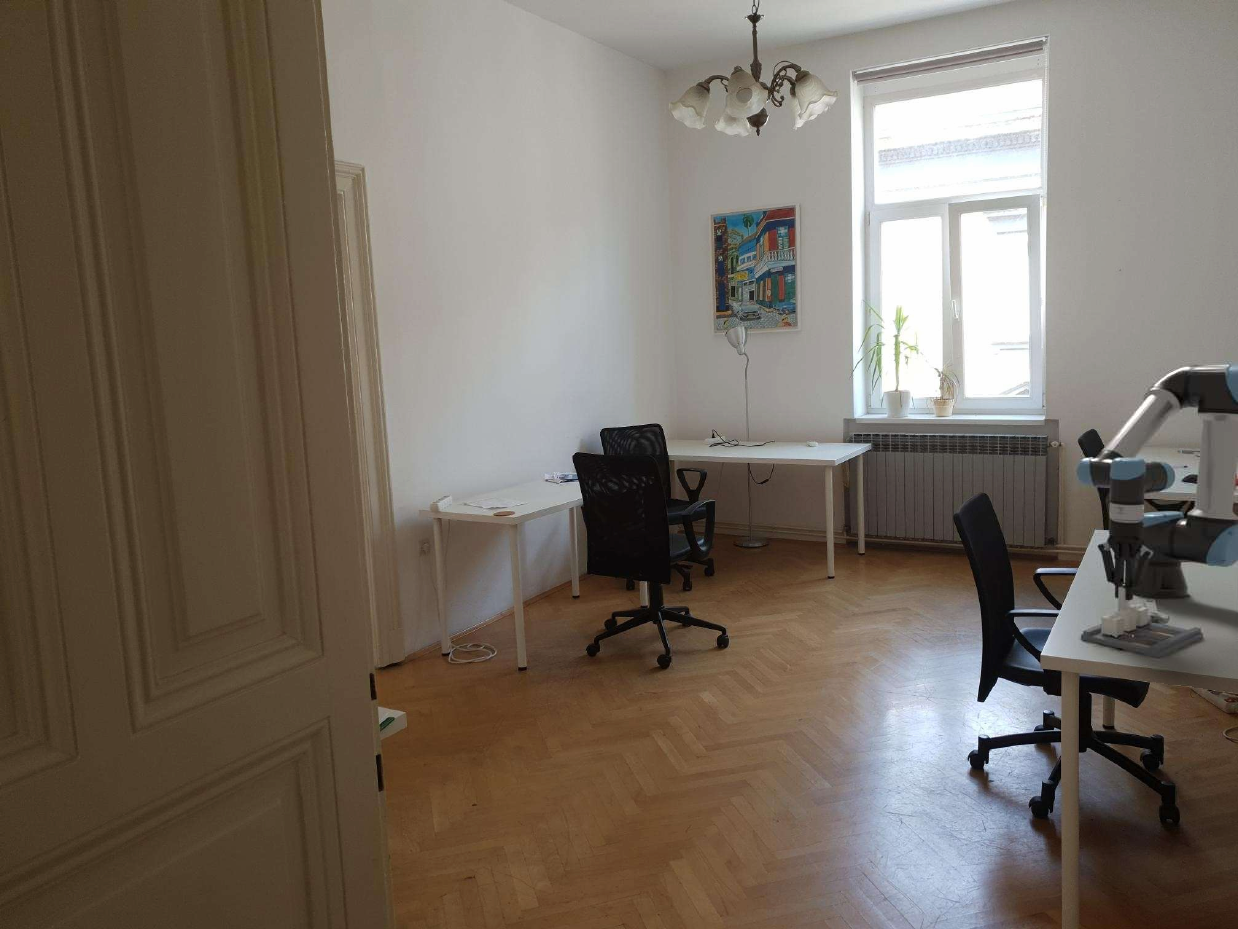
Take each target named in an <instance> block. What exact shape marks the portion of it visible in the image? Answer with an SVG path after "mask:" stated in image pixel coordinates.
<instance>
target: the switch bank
mask: <svg viewBox="0 0 1238 929" xmlns="http://www.w3.org/2000/svg"><path fill="white" fill-rule="evenodd" d="M1139 634H1142V635H1145V636H1144V637H1145V638H1133V636H1132V635H1139ZM1203 638H1204V632H1202V627H1196V626H1194V627H1192V628H1189V629H1186V628H1182V627H1177V626H1172V625H1168V624H1163V623H1159V622H1158V623H1157V622H1152V621H1151V623H1148V624H1146V625H1143V626H1136V629H1134V630H1131V631H1124V634H1121V636H1117V637H1115V636H1110V635H1107V634H1103V633H1101V624H1097V625H1095V626H1092V627H1090V628H1087V629H1085V630H1083V631H1082V634H1080V639H1081V640H1082V641H1088V642H1091V643H1096V644H1099V643H1100V644H1101V645H1104V646H1107V647H1108V646H1109V647H1112V648H1117V649H1120V648H1121V650H1126V651H1130V652H1132V653H1133V652H1134V653H1138V654H1141V655H1145V656H1151V657H1155V658H1159V659H1160V658H1162V657H1164V656H1166V655H1169V654H1171V653H1173V652H1175V651H1177V650H1180V649H1181V648H1183V647H1186V646H1188V645H1190V644H1192V643H1194V642H1197V641H1199V640H1201V639H1203Z"/></svg>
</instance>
